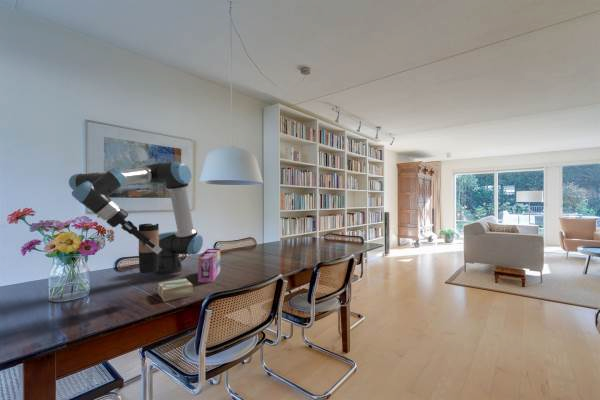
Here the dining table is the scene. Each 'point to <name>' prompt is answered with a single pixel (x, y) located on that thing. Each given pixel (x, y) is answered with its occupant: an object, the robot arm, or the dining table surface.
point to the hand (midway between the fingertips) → (157, 250)
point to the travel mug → (148, 249)
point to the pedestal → (175, 289)
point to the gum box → (209, 265)
